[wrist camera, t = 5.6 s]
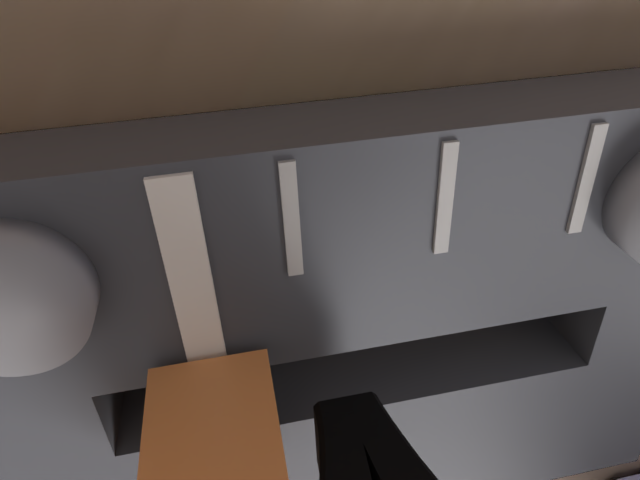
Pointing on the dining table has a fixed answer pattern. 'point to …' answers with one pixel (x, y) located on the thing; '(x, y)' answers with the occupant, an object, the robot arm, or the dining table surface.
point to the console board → (335, 273)
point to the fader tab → (212, 421)
